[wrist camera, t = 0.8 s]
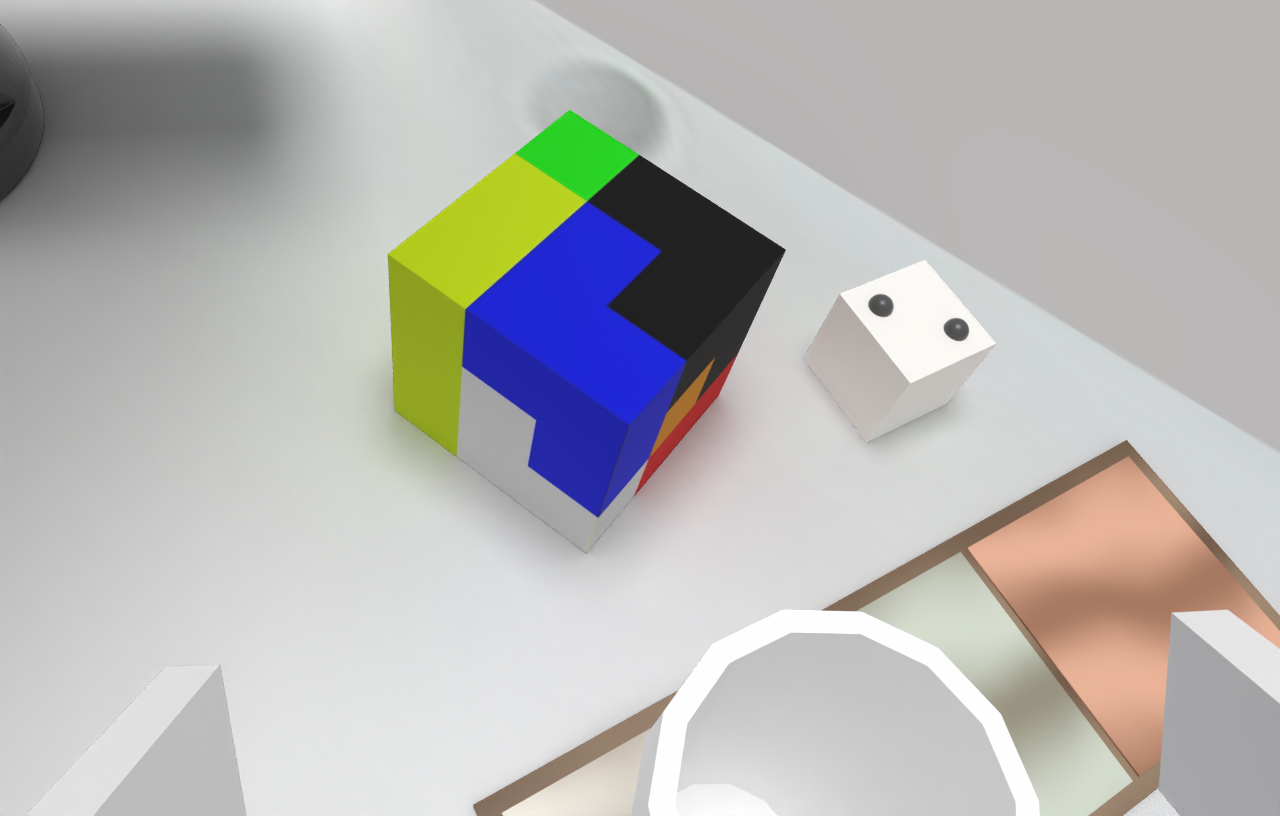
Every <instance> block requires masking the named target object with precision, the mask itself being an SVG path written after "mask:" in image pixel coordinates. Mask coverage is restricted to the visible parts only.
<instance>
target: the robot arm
mask: <svg viewBox="0 0 1280 816" xmlns="http://www.w3.org/2000/svg"><path fill="white" fill-rule="evenodd" d="M43 127H44V113H43V106H42V101H41V98H40V95H39V92H38V90H37V87H36V85H35V82H34V80H33V78H32V75H31V73H30V70H29V68H28V65H27V63H26V61H25V58H24V56H23V54H22V52H21V51H20V49H19V48H18V46H17V45H16V43H15V41H14V40H13V38H12V37H11V36H10V34H9V33H8V32H7V31H6V30H5V28H4V27H3V26H2V25H1V24H0V199H1V198H2V197H4V196H5V195H6V194H7V193H8V192H9V191H10V190H11V189H12V188H13V187H14V186H15V184H16V183H17V182H18V181H19V180H20V179H21V177H22V176H23V175H24V173H25V172H26V171H27V169H28V167H29V166H30V164H31V163H32V161H33V159H34V157H35V155H36V153H37V150H38V148H39V145H40V142H41V138H42V134H43ZM1159 791H1160V792H1161V793H1162V794H1163V796H1164V797H1165V798H1166V799H1167V801H1168V802H1169V803H1170V804H1171V805H1172V807H1173V808H1174V809H1175V810H1176V811H1177V813H1178V814H1179V815H1180V816H1280V649H1279V648H1278V647H1277V646H1275V645H1274V644H1273V643H1271V642H1270V641H1269V640H1267V639H1266V638H1265V637H1263V636H1262V635H1261V634H1259V633H1258V632H1257V631H1255V630H1254V629H1253V628H1251V627H1250V626H1249V625H1247V624H1246V623H1245V622H1243V621H1242V620H1241V619H1239V618H1238V617H1237V616H1235V615H1234V614H1233V613H1231V612H1230V611H1229V610H1212V611H1193V612H1175V613H1171V626H1170V640H1169V653H1168V667H1167V681H1166V694H1165V708H1164V722H1163V736H1162V749H1161V763H1160V777H1159ZM25 816H246V810H245V805H244V799H243V793H242V787H241V782H240V776H239V770H238V764H237V758H236V753H235V747H234V741H233V735H232V729H231V724H230V718H229V712H228V706H227V701H226V695H225V689H224V683H223V677H222V672H221V666H220V664H212V665H193V666H175V667H165V668H164V669H163V670H162V671H161V672H160V673H159V674H158V675H157V676H156V677H155V679H154V680H153V681H152V682H151V683H150V684H149V685H148V686H147V687H146V688H145V689H144V690H143V691H142V692H141V693H140V694H139V696H138V697H137V698H136V699H135V700H134V701H133V702H132V703H131V704H130V705H129V706H128V707H127V708H126V709H125V710H124V711H123V712H122V714H121V715H120V716H119V717H118V718H117V719H116V720H115V721H114V722H113V723H112V724H111V725H110V726H109V727H108V728H107V729H106V730H105V732H104V733H103V734H102V735H101V736H100V737H99V738H98V739H97V740H96V741H95V742H94V743H93V744H92V745H91V746H90V747H89V749H88V750H87V751H86V752H85V753H84V754H83V755H82V756H81V757H80V758H79V759H78V760H77V761H76V762H75V763H74V764H73V765H72V767H71V768H70V769H69V770H68V771H67V772H66V773H65V774H64V775H63V776H62V777H61V778H60V779H59V780H58V781H57V782H56V784H55V785H54V786H53V787H52V788H51V789H50V790H49V791H48V792H47V793H46V794H45V795H44V796H43V797H42V798H41V799H40V800H39V802H38V803H37V804H36V805H35V806H34V807H33V808H32V809H31V810H30V811H29V812H28V813H27V814H26V815H25Z"/></svg>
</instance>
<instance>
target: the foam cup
mask: <svg viewBox="0 0 1280 816" xmlns="http://www.w3.org/2000/svg"><path fill="white" fill-rule="evenodd" d="M631 816H1040V814H1039V800H1038V798H1037V796H1036V793H1035V791H1034V789H1033V786H1032V784H1031V782H1030V780H1029V777H1028V775H1027V773H1026V770H1025V768H1024V766H1023V764H1022V761H1021V759H1020V757H1019V754H1018V752H1017V750H1016V748H1015V745H1014V743H1013V741H1012V738H1011V736H1010V734H1009V732H1008V729H1007V727H1006V725H1005V722H1004V720H1003V718H1002V716H1001V713H1000V712H999V711H998V710H997V709H996V708H995V707H994V706H993V705H992V704H991V703H990V702H989V701H988V700H987V699H986V698H985V697H984V696H983V695H982V694H981V692H980V691H979V690H978V689H977V688H976V687H975V686H974V685H973V684H972V683H971V682H970V681H969V680H968V679H967V678H966V677H965V676H964V675H963V674H962V673H961V671H960V670H959V669H958V668H957V667H956V666H955V665H954V664H953V663H952V662H951V661H950V660H949V659H948V658H947V657H946V656H945V655H944V654H943V653H942V652H941V650H940V649H939V648H937V647H935V646H933V645H931V644H929V643H927V642H925V641H922V640H920V639H918V638H916V637H914V636H912V635H910V634H908V633H906V632H904V631H901V630H899V629H897V628H895V627H893V626H891V625H889V624H887V623H885V622H882V621H880V620H878V619H876V618H874V617H872V616H870V615H868V614H866V613H863V612H853V611H813V610H781V611H779V612H777V613H775V614H773V615H771V616H769V617H767V618H765V619H763V620H761V621H759V622H757V623H754V624H752V625H750V626H748V627H746V628H744V629H742V630H740V631H738V632H736V633H734V634H732V635H730V636H728V637H726V638H724V639H721V640H719V641H717V642H715V643H713V644H712V645H711V647H710V648H709V649H708V651H707V652H706V654H705V655H704V656H703V658H702V659H701V660H700V662H699V663H698V664H697V666H696V667H695V668H694V670H693V671H692V673H691V674H690V675H689V677H688V678H687V679H686V681H685V682H684V684H683V685H682V686H681V688H680V689H679V691H678V692H677V693H676V695H675V696H674V697H673V699H672V700H671V702H670V703H669V704H668V706H667V707H666V709H665V710H664V711H663V713H662V714H661V715H660V717H659V718H658V720H657V721H656V722H655V724H654V725H653V727H652V728H651V729H650V731H649V732H648V733H647V735H646V736H645V740H644V746H643V752H642V757H641V763H640V769H639V775H638V780H637V786H636V792H635V797H634V803H633V809H632V815H631Z"/></svg>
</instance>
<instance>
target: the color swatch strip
mask: <svg viewBox="0 0 1280 816" xmlns="http://www.w3.org/2000/svg"><path fill="white" fill-rule="evenodd" d="M1212 610H1229V611H1230V612H1231V613H1233V614H1234V615H1235V616H1237V617H1238V618H1239V619H1241V620H1242V621H1243V622H1245V623H1246V624H1247V625H1249V626H1250V627H1251V628H1253V629H1254V630H1255V631H1257V632H1258V633H1259V634H1261V635H1262V636H1263V637H1265V638H1266V639H1267V640H1269V641H1270V642H1271V643H1273V644H1274V645H1275V646H1277V647H1278V648H1279V649H1280V615H1279V614H1278V613H1277V612H1276V611H1275V610H1274V609H1273V607H1272V606H1271V605H1270V604H1269V603H1268V602H1267V601H1266V599H1265V598H1264V597H1263V596H1262V595H1261V594H1260V592H1259V591H1258V590H1257V589H1256V588H1255V587H1254V586H1253V584H1252V583H1251V582H1250V581H1249V580H1248V579H1247V578H1246V576H1245V575H1244V574H1243V573H1242V572H1241V571H1240V570H1239V568H1238V567H1237V566H1236V565H1235V564H1234V563H1233V562H1232V560H1231V559H1230V558H1229V557H1228V556H1227V555H1226V553H1225V552H1224V551H1223V550H1222V549H1221V548H1220V547H1219V545H1218V544H1217V543H1216V542H1215V541H1214V540H1213V539H1212V537H1211V536H1210V535H1209V534H1208V533H1207V532H1206V531H1205V529H1204V528H1203V527H1202V526H1201V525H1200V524H1199V523H1198V521H1197V520H1196V519H1195V518H1194V517H1193V516H1192V514H1191V513H1190V512H1189V511H1188V510H1187V509H1186V508H1185V506H1184V505H1183V504H1182V503H1181V502H1180V501H1179V500H1178V498H1177V497H1176V496H1175V495H1174V494H1173V493H1172V492H1171V490H1170V489H1169V488H1168V487H1167V486H1166V485H1165V484H1164V482H1163V481H1162V480H1161V479H1160V478H1159V477H1158V475H1157V474H1156V473H1155V472H1154V471H1153V470H1152V469H1151V467H1150V466H1149V465H1148V464H1147V463H1146V462H1145V461H1144V459H1143V458H1142V457H1141V456H1140V455H1139V454H1138V453H1137V451H1136V450H1135V449H1134V448H1133V447H1132V446H1131V445H1130V443H1129V442H1128V441H1127V440H1126V441H1124V442H1122V443H1121V444H1119V445H1117V446H1115V447H1113V448H1112V449H1110V450H1108V451H1106V452H1104V453H1103V454H1101V455H1099V456H1097V457H1095V458H1094V459H1092V460H1090V461H1088V462H1087V463H1085V464H1083V465H1081V466H1079V467H1078V468H1076V469H1074V470H1072V471H1070V472H1069V473H1067V474H1065V475H1063V476H1061V477H1060V478H1058V479H1056V480H1054V481H1052V482H1051V483H1049V484H1047V485H1045V486H1044V487H1042V488H1040V489H1038V490H1036V491H1035V492H1033V493H1031V494H1029V495H1027V496H1026V497H1024V498H1022V499H1020V500H1018V501H1017V502H1015V503H1013V504H1011V505H1010V506H1008V507H1006V508H1004V509H1002V510H1001V511H999V512H997V513H995V514H993V515H992V516H990V517H988V518H986V519H984V520H983V521H981V522H979V523H977V524H975V525H974V526H972V527H970V528H968V529H967V530H965V531H963V532H961V533H959V534H958V535H956V536H954V537H952V538H950V539H949V540H947V541H945V542H943V543H941V544H940V545H938V546H936V547H934V548H932V549H931V550H929V551H927V552H925V553H924V554H922V555H920V556H918V557H916V558H915V559H913V560H911V561H909V562H907V563H906V564H904V565H902V566H900V567H898V568H897V569H895V570H893V571H891V572H890V573H888V574H886V575H884V576H882V577H881V578H879V579H877V580H875V581H873V582H872V583H870V584H868V585H866V586H864V587H863V588H861V589H859V590H857V591H855V592H854V593H852V594H850V595H848V596H847V597H845V598H843V599H841V600H839V601H838V602H836V603H834V604H832V605H830V606H829V607H827V608H825V609H823V610H821V611H853V612H863V613H866V614H868V615H870V616H872V617H874V618H876V619H878V620H880V621H882V622H885V623H887V624H889V625H891V626H893V627H895V628H897V629H899V630H901V631H904V632H906V633H908V634H910V635H912V636H914V637H916V638H918V639H920V640H922V641H925V642H927V643H929V644H931V645H933V646H935V647H937V648H939V649H940V650H941V652H942V653H943V654H944V655H945V656H946V657H947V658H948V659H949V660H950V661H951V662H952V663H953V664H954V665H955V666H956V667H957V668H958V669H959V670H960V671H961V673H962V674H963V675H964V676H965V677H966V678H967V679H968V680H969V681H970V682H971V683H972V684H973V685H974V686H975V687H976V688H977V689H978V690H979V691H980V692H981V694H982V695H983V696H984V697H985V698H986V699H987V700H988V701H989V702H990V703H991V704H992V705H993V706H994V707H995V708H996V709H997V710H998V711H999V712H1000V713H1001V716H1002V718H1003V720H1004V722H1005V725H1006V727H1007V729H1008V732H1009V734H1010V736H1011V738H1012V741H1013V743H1014V745H1015V748H1016V750H1017V752H1018V754H1019V757H1020V759H1021V761H1022V764H1023V766H1024V768H1025V770H1026V773H1027V775H1028V777H1029V780H1030V782H1031V784H1032V786H1033V789H1034V791H1035V793H1036V796H1037V798H1038V800H1039V814H1040V816H1123V815H1124V814H1125V813H1126V812H1128V811H1129V810H1130V809H1131V808H1133V807H1134V806H1135V805H1137V804H1138V803H1139V802H1140V801H1142V800H1143V799H1144V798H1145V797H1147V796H1148V795H1149V794H1150V793H1152V792H1153V791H1154V790H1156V789H1157V788H1158V787H1159V777H1160V763H1161V749H1162V736H1163V722H1164V708H1165V694H1166V681H1167V667H1168V653H1169V640H1170V626H1171V613H1175V612H1193V611H1212ZM678 691H679V690H678ZM678 691H676V692H675V693H673V694H671V695H669V696H667V697H666V698H664V699H662V700H660V701H658V702H657V703H655V704H653V705H651V706H650V707H648V708H646V709H644V710H642V711H641V712H639V713H637V714H635V715H633V716H632V717H630V718H628V719H626V720H624V721H623V722H621V723H619V724H617V725H616V726H614V727H612V728H610V729H608V730H607V731H605V732H603V733H601V734H599V735H598V736H596V737H594V738H592V739H590V740H589V741H587V742H585V743H583V744H581V745H580V746H578V747H576V748H574V749H573V750H571V751H569V752H567V753H565V754H564V755H562V756H560V757H558V758H556V759H555V760H553V761H551V762H549V763H547V764H546V765H544V766H542V767H540V768H539V769H537V770H535V771H533V772H531V773H530V774H528V775H526V776H524V777H522V778H521V779H519V780H517V781H515V782H513V783H512V784H510V785H508V786H506V787H504V788H503V789H501V790H499V791H497V792H496V793H494V794H492V795H490V796H488V797H487V798H485V799H483V800H481V801H479V802H478V803H476V804H474V805H473V806H474V808H475V810H476V812H477V815H478V816H631V815H632V809H633V803H634V797H635V792H636V786H637V780H638V775H639V769H640V763H641V757H642V752H643V746H644V740H645V736H646V735H647V733H648V732H649V731H650V729H651V728H652V727H653V725H654V724H655V722H656V721H657V720H658V718H659V717H660V715H661V714H662V713H663V711H664V710H665V709H666V707H667V706H668V704H669V703H670V702H671V700H672V699H673V697H674V696H675V695H676V693H677V692H678Z"/></svg>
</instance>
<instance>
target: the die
mask: <svg viewBox="0 0 1280 816" xmlns="http://www.w3.org/2000/svg"><path fill="white" fill-rule="evenodd" d="M995 345H996V343H995V341H994V340H993V339H992V338H991V337H990V336H989V334H988V333H987V332H986V331H985V330H984V329H983V327H982V326H981V325H980V324H979V323H978V321H977V320H976V319H975V318H974V317H973V316H972V314H971V313H970V312H969V311H968V310H967V309H966V307H965V306H964V305H963V304H962V303H961V301H960V300H959V299H958V298H957V297H956V296H955V294H954V293H953V292H952V291H951V290H950V289H949V287H948V286H947V285H946V284H945V283H944V281H943V280H942V279H941V278H940V277H939V276H938V274H937V273H936V272H935V271H934V270H933V269H932V267H931V266H930V265H929V264H928V263H927V261H926V260H923V261H921V262H918V263H916V264H913V265H911V266H908V267H906V268H903V269H901V270H898V271H896V272H893V273H891V274H888V275H886V276H883V277H881V278H878V279H876V280H873V281H871V282H868V283H865V284H863V285H860V286H858V287H855V288H853V289H850V290H848V291H845V292H843V293H840V294H839V296H838V298H837V299H836V301H835V303H834V305H833V307H832V308H831V310H830V312H829V314H828V316H827V317H826V319H825V321H824V323H823V325H822V326H821V328H820V330H819V332H818V334H817V335H816V337H815V339H814V341H813V343H812V344H811V346H810V348H809V350H808V351H807V353H806V355H805V357H804V360H805V361H806V363H807V364H808V366H809V367H810V368H811V370H812V371H813V372H814V374H815V375H816V376H817V378H818V379H819V380H820V382H821V383H822V384H823V386H824V387H825V388H826V390H827V391H828V392H829V394H830V395H831V396H832V398H833V399H834V400H835V402H836V403H837V404H838V406H839V407H840V408H841V410H842V411H843V412H844V414H845V415H846V416H847V418H848V419H849V421H850V422H851V423H852V425H853V426H854V427H855V429H856V430H857V431H858V433H859V434H860V435H861V437H862V438H863V439H864V441H865V442H866V443H867V442H869V441H871V440H874V439H876V438H878V437H880V436H882V435H884V434H886V433H888V432H890V431H892V430H894V429H896V428H898V427H900V426H903V425H905V424H907V423H909V422H911V421H913V420H915V419H917V418H919V417H921V416H923V415H925V414H927V413H930V412H932V411H934V410H936V409H938V408H940V407H942V406H944V405H946V404H947V403H948V402H949V401H950V399H951V398H952V397H953V396H954V395H955V393H956V392H957V391H958V390H959V388H960V387H961V386H962V385H963V384H964V382H965V381H966V380H967V379H968V378H969V376H970V375H971V374H972V373H973V371H974V370H975V369H976V368H977V367H978V365H979V364H980V363H981V362H982V361H983V359H984V358H985V357H986V356H987V354H988V353H989V352H990V351H991V350H992V348H993V347H994V346H995Z"/></svg>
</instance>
